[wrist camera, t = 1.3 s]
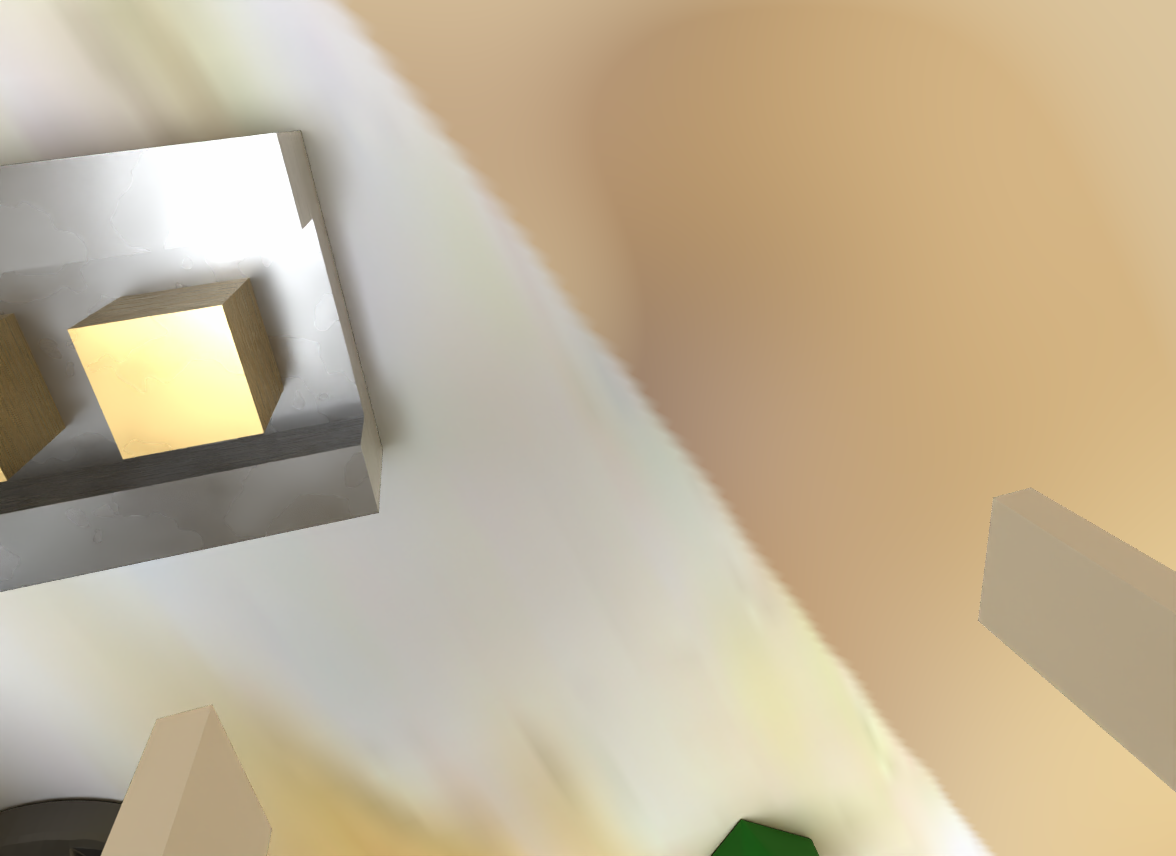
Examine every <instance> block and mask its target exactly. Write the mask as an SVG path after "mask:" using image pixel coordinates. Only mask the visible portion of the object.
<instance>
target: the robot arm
mask: <svg viewBox="0 0 1176 856" xmlns="http://www.w3.org/2000/svg"><path fill="white" fill-rule="evenodd" d="M978 621H979V622H980V623H981V624H983V625H984V626H985V627H986V628H987V629H988V630H989V631H991V632H992V633H993V634H994V635H995V636H996V637H998V638H999V639H1000V640H1001V641H1002V642H1003V643H1005V644H1006V645H1007V646H1008V647H1009V648H1010V649H1011V650H1013V651H1014V652H1015V653H1016V654H1017V655H1018V656H1019V657H1021V658H1022V659H1023V660H1024V661H1025V662H1026V663H1028V664H1029V665H1030V666H1031V667H1032V668H1033V669H1034V670H1036V671H1037V672H1038V673H1039V674H1040V675H1041V676H1043V677H1044V678H1045V679H1046V680H1047V681H1048V682H1049V683H1051V684H1052V685H1053V686H1054V687H1055V688H1056V689H1058V690H1059V691H1060V692H1061V693H1062V694H1063V695H1064V696H1066V697H1067V698H1068V699H1069V700H1070V701H1071V702H1073V703H1074V704H1075V705H1076V706H1077V707H1078V708H1080V709H1081V710H1082V711H1083V712H1084V713H1085V714H1086V715H1088V716H1089V717H1090V718H1091V719H1092V720H1093V721H1095V722H1096V723H1097V724H1098V725H1099V726H1100V727H1102V728H1103V729H1104V730H1105V731H1106V732H1107V733H1108V734H1109V735H1111V736H1112V737H1113V738H1114V739H1115V740H1116V741H1118V742H1119V743H1120V744H1121V745H1122V746H1123V747H1125V748H1126V749H1127V750H1128V751H1129V752H1130V753H1131V754H1133V755H1134V756H1135V757H1136V758H1137V759H1138V760H1140V761H1141V762H1142V763H1143V764H1144V765H1145V766H1146V767H1148V768H1149V769H1150V770H1151V771H1152V772H1153V773H1154V774H1156V775H1157V776H1158V777H1159V778H1160V779H1161V780H1163V781H1164V782H1165V783H1166V784H1167V785H1168V786H1170V787H1171V788H1172V789H1173V790H1174V791H1175V792H1176V572H1175V571H1173V570H1171V569H1170V568H1168V567H1166V566H1165V565H1163V564H1161V563H1159V562H1158V561H1156V560H1154V559H1153V558H1151V557H1149V556H1147V555H1146V554H1144V553H1142V552H1141V551H1139V550H1137V549H1135V548H1134V547H1132V546H1130V545H1129V544H1127V543H1125V542H1123V541H1122V540H1120V539H1118V538H1117V537H1115V536H1113V535H1111V534H1110V533H1108V532H1106V531H1105V530H1103V529H1101V528H1099V527H1098V526H1096V525H1094V524H1093V523H1091V522H1089V521H1087V520H1086V519H1084V518H1082V517H1080V516H1079V515H1077V514H1075V513H1074V512H1072V511H1070V510H1068V509H1067V508H1065V507H1063V506H1062V505H1060V504H1058V503H1056V502H1055V501H1053V500H1051V499H1049V498H1048V497H1046V496H1044V495H1043V494H1041V493H1039V492H1038V491H1036V490H1034V489H1032V488H1028V489H1025V490H1020V491H1017V492H1013V493H1009V494H1006V495H1001V496H998V497H994V498H993V505H992V513H991V521H990V529H989V537H988V545H987V553H986V561H985V569H984V578H983V586H982V594H981V602H980V610H979V619H978ZM271 831H272V828H271V826H270V824H269V822H268V820H267V818H266V815H265V813H264V811H263V809H262V807H261V805H260V803H259V801H258V799H257V797H256V795H255V793H254V791H253V788H252V786H251V784H250V782H249V780H248V778H247V776H246V774H245V772H244V770H243V768H242V766H241V763H240V761H239V759H238V757H237V755H236V753H235V751H234V749H233V747H232V745H231V743H230V741H229V739H228V736H227V734H226V732H225V730H224V728H223V726H222V724H221V722H220V720H219V718H218V716H217V714H216V711H215V709H214V707H213V705H208V706H204V707H201V708H197V709H193V710H189V711H186V712H182V713H178V714H174V715H170V716H167V717H163V718H159V719H157V720H156V723H155V725H154V727H153V730H152V732H151V735H150V737H149V740H148V742H147V744H146V747H145V749H144V752H143V754H142V757H141V759H140V761H139V764H138V766H137V769H136V771H135V774H134V776H133V778H132V781H131V783H130V786H129V788H128V791H127V793H126V795H125V798H124V800H123V803H122V804H117V803H110V802H101V801H56V802H46V803H38V804H32V805H27V806H22V807H17V808H13V809H9V810H6V811H2V812H0V856H267V853H268V847H269V842H270V837H271Z"/></svg>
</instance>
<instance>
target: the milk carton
mask: <svg viewBox="0 0 1176 856" xmlns="http://www.w3.org/2000/svg"><path fill="white" fill-rule="evenodd" d="M712 856H819V854H818V852H817V850H816V848H815V846H814V844H813V842H812V840H811V839H809V838H805V837H802V836H798V835H795V834H791V833H788V832H784V831H780V830H777V829H773V828H770V827H766V826H763V825H759V824H755V823H752V822H748V821H745V820H740V822H739V823H738V824H737V825H736V827H735V828H734V829H733V830H732V832H731V833H730V834H729V835H728V836H727V838H726V839H725V840H724V841H723V843H722V844H721V845H720V846H719V847H718V849H717V850H716V851H715V852H714V854H713V855H712Z"/></svg>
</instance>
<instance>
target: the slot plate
mask: <svg viewBox="0 0 1176 856" xmlns="http://www.w3.org/2000/svg"><path fill="white" fill-rule="evenodd" d="M243 278H250V281H251V285H252V288H253V291H254V294H255V298H256V301H257V304H258V307H259V311H260V314H261V317H262V320H263V323H264V327H265V330H266V333H267V336H268V340H269V343H270V346H271V349H272V353H273V356H274V359H275V362H276V365H277V369H278V372H279V375H280V378H281V382H282V385H283V388H284V390H283V392H282V394H281V396H280V399H279V401H278V403H277V405H276V407H275V410H274V412H273V414H272V416H271V419H270V421H269V423H268V425H267V427H266V430H265V432H264V433H262V434H256V435H251V436H246V437H240V438H235V439H229V440H224V441H219V442H213V443H208V444H203V445H197V446H192V447H187V448H181V449H176V450H170V451H165V452H160V453H154V454H149V455H144V456H138V457H133V458H127V459H123V458H122V456H121V453H120V451H119V449H118V446H117V444H116V442H115V439H114V437H113V435H112V433H111V430H110V428H109V426H108V423H107V421H106V419H105V416H104V414H103V412H102V409H101V407H100V405H99V402H98V400H97V398H96V395H95V393H94V391H93V388H92V386H91V384H90V381H89V379H88V377H87V374H86V372H85V370H84V367H83V365H82V363H81V360H80V358H79V356H78V353H77V351H76V349H75V346H74V344H73V342H72V339H71V337H70V335H69V332H68V330H67V329H69V328H70V327H72V326H74V325H75V324H77V323H79V322H80V321H82V320H83V319H85V318H87V317H88V316H90V315H91V314H93V313H95V312H96V311H98V310H100V309H101V308H103V307H104V306H106V305H108V304H109V303H111V302H113V301H114V300H116V299H117V298H119V297H124V296H130V295H137V294H144V293H150V292H157V291H163V290H170V289H177V288H183V287H190V286H196V285H203V284H210V283H216V282H223V281H230V280H236V279H243ZM11 313H14V315H15V318H16V320H17V322H18V324H19V326H20V329H21V331H22V333H23V335H24V337H25V339H26V342H27V344H28V346H29V348H30V350H31V353H32V355H33V357H34V359H35V361H36V363H37V366H38V368H39V370H40V372H41V374H42V377H43V379H44V381H45V383H46V385H47V388H48V390H49V392H50V394H51V396H52V398H53V401H54V403H55V405H56V407H57V409H58V412H59V414H60V416H61V418H62V420H63V422H64V425H65V427H66V428H65V429H64V430H63V431H62V432H61V433H59V434H58V435H57V436H56V437H55V438H54V439H53V440H52V441H51V442H50V443H48V444H47V445H46V446H45V447H44V448H43V449H42V450H41V451H40V452H39V453H37V454H36V455H35V456H34V457H33V458H32V459H31V460H30V461H29V462H27V463H26V464H25V465H24V466H23V467H22V468H21V469H20V470H19V471H18V472H16V473H15V474H14V475H13V476H12V477H11V478H10V479H9V480H8V481H4V482H0V592H3V591H7V590H12V589H17V588H22V587H26V586H31V585H36V584H41V583H46V582H50V581H55V580H60V579H65V578H69V577H74V576H79V575H84V574H88V573H93V572H98V571H103V570H108V569H112V568H117V567H122V566H127V565H131V564H136V563H141V562H146V561H151V560H155V559H160V558H165V557H170V556H174V555H179V554H184V553H189V552H194V551H198V550H203V549H208V548H213V547H217V546H222V545H227V544H232V543H237V542H241V541H246V540H251V539H256V538H260V537H265V536H270V535H275V534H280V533H284V532H289V531H294V530H299V529H303V528H308V527H313V526H318V525H322V524H327V523H332V522H337V521H342V520H346V519H351V518H356V517H361V516H365V515H370V514H375V513H379V501H380V486H381V471H382V455H383V449H382V445H381V441H380V437H379V433H378V429H377V426H376V422H375V418H374V414H373V410H372V406H371V402H370V398H369V394H368V391H367V387H366V383H365V379H364V375H363V371H362V367H361V363H360V359H359V356H358V352H357V348H356V344H355V340H354V336H353V332H352V328H351V324H350V320H349V317H348V313H347V309H346V305H345V301H344V297H343V293H342V289H341V285H340V282H339V278H338V274H337V270H336V266H335V262H334V258H333V254H332V250H331V246H330V243H329V239H328V235H327V231H326V227H325V223H324V219H323V215H322V211H321V208H320V204H319V200H318V196H317V192H316V188H315V184H314V180H313V176H312V172H311V169H310V165H309V161H308V157H307V153H306V149H305V145H304V141H303V137H302V134H301V131H290V132H279V133H270V134H261V135H253V136H245V137H236V138H228V139H220V140H211V141H203V142H194V143H186V144H178V145H169V146H161V147H153V148H144V149H136V150H128V151H119V152H111V153H103V154H94V155H86V156H78V157H69V158H61V159H53V160H44V161H36V162H28V163H19V164H11V165H3V166H0V315H5V314H11Z"/></svg>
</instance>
